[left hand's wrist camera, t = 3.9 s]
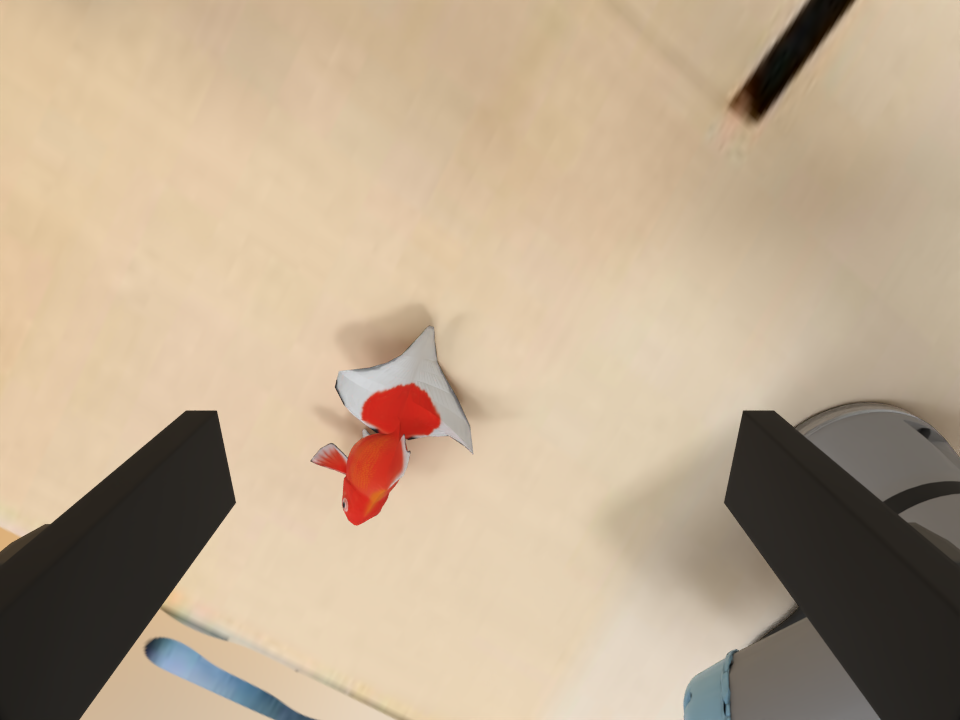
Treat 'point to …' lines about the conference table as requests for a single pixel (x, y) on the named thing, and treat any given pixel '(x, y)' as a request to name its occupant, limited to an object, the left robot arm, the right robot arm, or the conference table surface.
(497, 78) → the conference table surface
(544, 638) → the conference table surface
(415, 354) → the fish
